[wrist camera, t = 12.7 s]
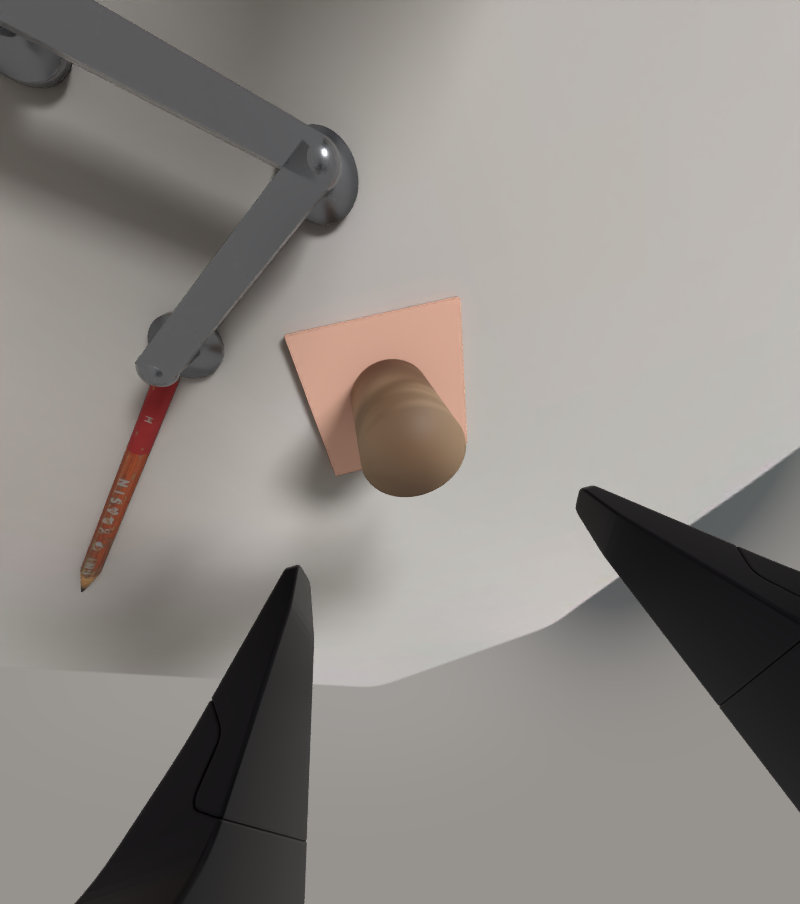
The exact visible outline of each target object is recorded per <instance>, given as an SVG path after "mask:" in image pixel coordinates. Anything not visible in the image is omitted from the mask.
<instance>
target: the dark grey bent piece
mask: <svg viewBox="0 0 800 904" xmlns="http://www.w3.org/2000/svg"><path fill="white" fill-rule="evenodd" d="M71 63H73V64H75V65H77V66H79V67H81V68H83V69H85V70H87V71H89V72H91V73H93V74H95V75H97V76H99V77H100V78H102V79H104V80H106V81H108V82H110V83H112V84H114V85H116V86H118V87H120V88H122V89H124V90H126V91H128V92H130V93H132V94H133V95H135V96H137V97H139V98H141V99H143V100H145V101H147V102H149V103H151V104H153V105H155V106H157V107H159V108H161V109H163V110H165V111H166V112H168V113H170V114H172V115H174V116H176V117H178V118H180V119H182V120H184V121H186V122H188V123H190V124H192V125H194V126H196V127H198V128H199V129H201V130H203V131H205V132H207V133H209V134H211V135H213V136H215V137H217V138H219V139H221V140H223V141H225V142H227V143H229V144H230V145H232V146H234V147H236V148H238V149H240V150H242V151H244V152H246V153H248V154H250V155H252V156H254V157H256V158H258V159H260V160H262V161H263V162H265V163H267V164H269V165H271V166H273V167H275V168H277V169H279V171H278V172H277V174H276V175H275V176H274V178H273V179H272V180H271V182H270V183H269V184H268V186H267V187H266V188H265V190H264V191H263V192H262V194H261V195H260V196H259V198H258V199H257V200H256V202H255V203H254V204H253V206H252V207H251V208H250V210H249V211H248V212H247V214H246V215H245V216H244V218H243V219H242V221H241V222H240V223H239V225H238V226H237V227H236V229H235V230H234V231H233V233H232V234H231V235H230V237H229V238H228V239H227V241H226V242H225V243H224V245H223V246H222V247H221V249H220V250H219V251H218V253H217V254H216V255H215V257H214V258H213V259H212V261H211V262H210V263H209V265H208V266H207V267H206V269H205V270H204V271H203V273H202V274H201V275H200V277H199V278H198V279H197V281H196V282H195V283H194V285H193V286H192V287H191V289H190V290H189V291H188V293H187V294H186V295H185V297H184V298H183V299H182V301H181V302H180V303H179V305H178V306H177V307H176V309H175V310H174V311H173V312H169V313H166V314H164V315H162V316H160V317H158V318H157V319H155V320H154V321H153V323H152V324H151V326H150V328H149V331H148V343H149V345H148V346H147V347H146V349H145V350H144V351H143V353H142V354H141V355H140V356H139V357H138V359H137V361H136V362H135V364H136V371H137V373H138V375H139V377H140V378H141V379H142V380H143V381H145V382H146V383H148V384H150V385H152V386H156V387H167V386H170V385H172V384H174V383H175V382H176V381H177V380H178V378H179V376H184V377H188V378H201V377H205V376H208V375H210V374H211V373H213V372H214V371H215V370H216V369H217V368H218V366H219V365H220V364H221V362H222V360H223V356H224V347H223V343H222V340H221V338H220V336H219V334H218V333H217V331H216V329H217V327H218V326H219V325H220V324H221V322H222V321H223V320H224V319H225V317H226V316H227V315H228V314H229V312H230V311H231V310H232V309H233V308H234V306H235V305H236V304H237V303H238V301H239V300H240V299H241V298H242V296H243V295H244V294H245V293H246V291H247V290H248V289H249V288H250V287H251V285H252V284H253V283H254V282H255V280H256V279H257V278H258V277H259V275H260V274H261V273H262V272H263V270H264V269H265V268H266V267H267V265H268V264H269V263H270V262H271V261H272V259H273V258H274V257H275V256H276V254H277V253H278V252H279V251H280V249H281V248H282V247H283V246H284V244H285V243H286V242H287V241H288V240H289V238H290V237H291V236H292V235H293V233H294V232H295V231H296V230H297V228H298V227H299V226H300V225H301V223H302V222H303V221H304V220H305V219H306V218H307V219H308V220H310V221H312V222H314V223H317V224H324V225H327V224H333V223H336V222H338V221H340V220H341V219H343V218H344V217H345V216H346V215H347V214H348V213H349V212H350V210H351V208H352V207H353V205H354V202H355V200H356V196H357V192H358V173H357V168H356V164H355V161H354V158H353V156H352V153H351V151H350V150H349V148H348V146H347V145H346V143H345V142H344V141H343V140H342V139H341V137H340V136H339V135H337V134H336V133H335V132H334V131H332V130H330V129H329V128H326V127H324V126H321V125H315V124H311V125H307V124H305V123H303V122H301V121H300V120H298V119H296V118H295V117H293V116H291V115H289V114H288V113H286V112H284V111H283V110H281V109H279V108H277V107H276V106H274V105H272V104H271V103H269V102H267V101H265V100H264V99H262V98H260V97H258V96H257V95H255V94H253V93H252V92H250V91H248V90H246V89H245V88H243V87H241V86H240V85H238V84H236V83H234V82H233V81H231V80H229V79H228V78H226V77H224V76H222V75H221V74H219V73H217V72H216V71H214V70H212V69H210V68H209V67H207V66H205V65H204V64H202V63H200V62H198V61H197V60H195V59H193V58H191V57H190V56H188V55H186V54H185V53H183V52H181V51H179V50H178V49H176V48H174V47H173V46H171V45H169V44H167V43H166V42H164V41H162V40H161V39H159V38H157V37H155V36H154V35H152V34H150V33H149V32H147V31H145V30H143V29H142V28H140V27H138V26H136V25H135V24H133V23H131V22H130V21H128V20H126V19H124V18H123V17H121V16H119V15H118V14H116V13H114V12H112V11H111V10H109V9H107V8H106V7H104V6H102V5H100V4H99V3H97V2H95V1H94V0H0V73H2V74H4V75H6V76H8V77H10V78H12V79H14V80H16V81H18V82H20V83H23V84H25V85H28V86H32V87H38V88H47V87H52V86H55V85H57V84H59V83H60V82H61V81H62V80H63V79H64V78H65V77H66V75H67V74H68V72H69V69H70V66H71Z"/></svg>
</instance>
